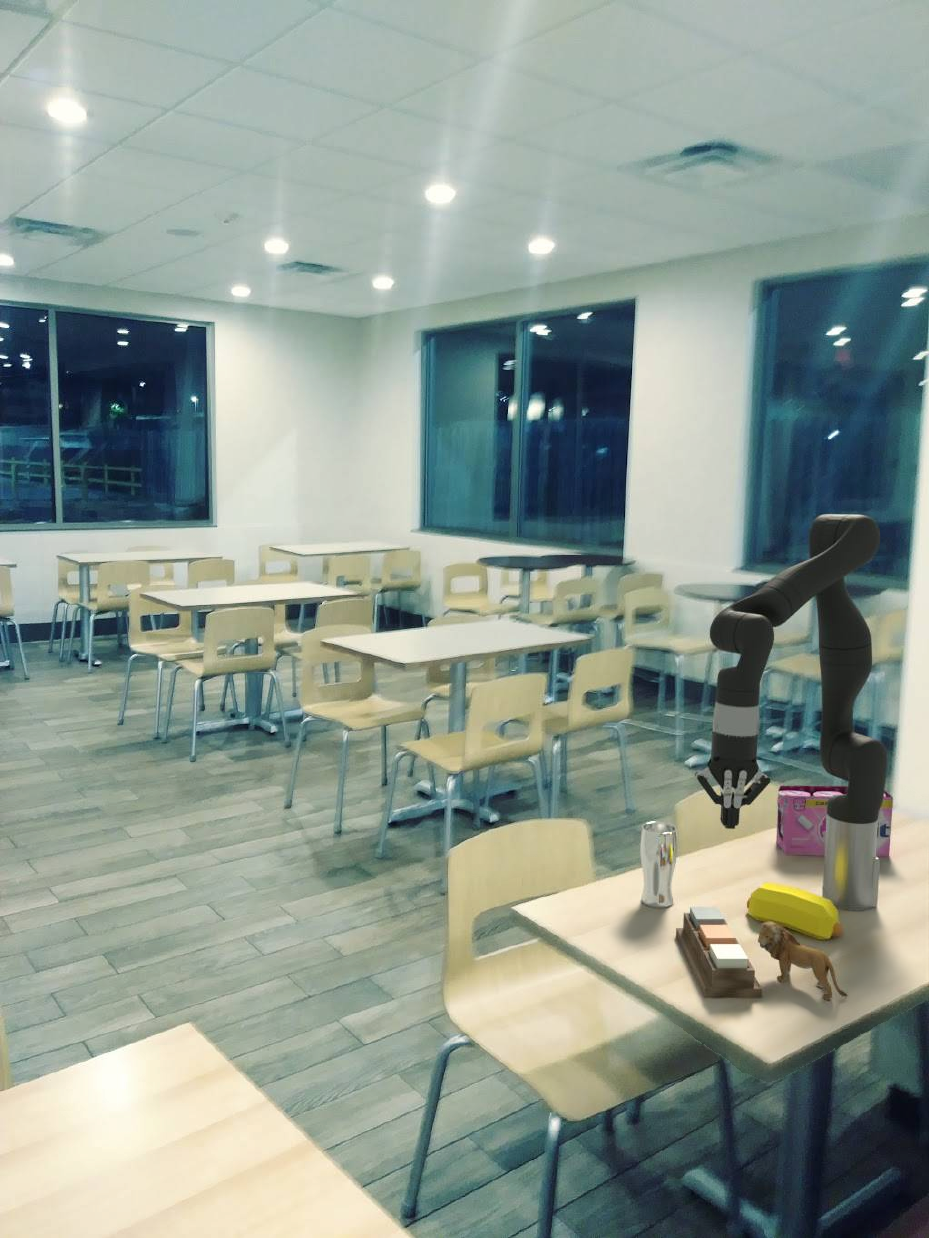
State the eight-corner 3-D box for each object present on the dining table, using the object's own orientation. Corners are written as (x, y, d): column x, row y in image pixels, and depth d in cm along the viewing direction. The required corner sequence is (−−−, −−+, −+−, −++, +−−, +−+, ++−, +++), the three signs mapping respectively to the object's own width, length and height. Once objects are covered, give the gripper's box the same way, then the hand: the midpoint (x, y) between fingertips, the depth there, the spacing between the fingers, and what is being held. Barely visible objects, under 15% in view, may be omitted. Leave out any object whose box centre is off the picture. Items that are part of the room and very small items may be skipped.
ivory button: (738, 960, 159) (739, 944, 158) (747, 975, 154) (747, 958, 154) (709, 960, 159) (710, 944, 158) (717, 975, 154) (717, 958, 154)
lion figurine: (751, 976, 160) (753, 924, 159) (763, 963, 164) (766, 913, 163) (841, 1006, 151) (844, 951, 150) (852, 992, 155) (855, 939, 154)
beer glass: (673, 894, 192) (675, 821, 189) (677, 909, 185) (679, 834, 183) (637, 893, 192) (639, 820, 190) (640, 908, 185) (642, 833, 183)
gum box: (779, 855, 211) (782, 795, 210) (769, 842, 219) (771, 784, 217) (890, 857, 211) (894, 796, 209) (876, 843, 219) (880, 785, 217)
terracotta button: (727, 940, 166) (727, 924, 165) (734, 953, 161) (735, 937, 160) (699, 940, 166) (699, 924, 165) (706, 953, 161) (706, 937, 160)
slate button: (716, 921, 173) (717, 906, 172) (723, 934, 168) (724, 918, 167) (689, 921, 173) (690, 906, 172) (696, 934, 168) (696, 918, 167)
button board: (726, 935, 174) (726, 912, 173) (761, 997, 153) (762, 970, 153) (676, 935, 174) (676, 912, 173) (704, 997, 153) (705, 970, 153)
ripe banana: (755, 904, 187) (737, 918, 182) (756, 871, 186) (738, 884, 181) (849, 933, 176) (833, 948, 170) (851, 898, 175) (835, 912, 169)
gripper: (768, 725, 168) (761, 821, 170) (691, 722, 168) (685, 818, 170) (781, 735, 161) (774, 836, 163) (701, 733, 161) (695, 833, 163)
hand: (728, 827), depth 167 cm, fingers closed
